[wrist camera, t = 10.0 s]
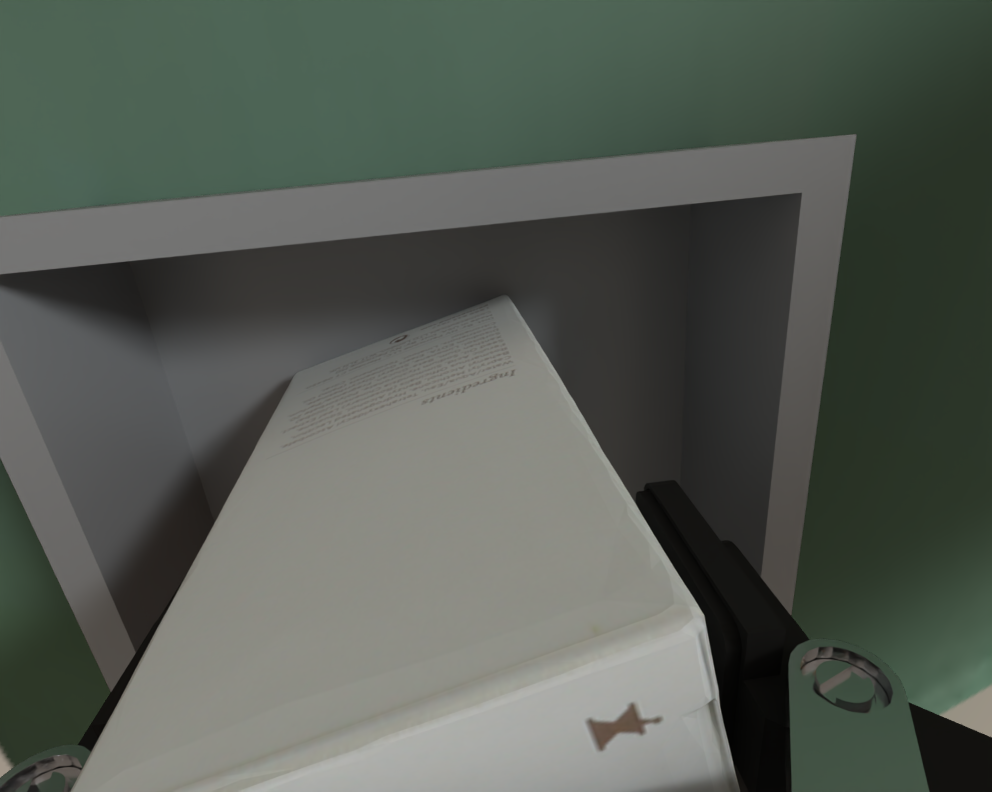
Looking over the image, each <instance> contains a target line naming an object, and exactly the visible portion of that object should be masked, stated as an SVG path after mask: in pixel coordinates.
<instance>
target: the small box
mask: <svg viewBox="0 0 992 792" xmlns="http://www.w3.org/2000/svg"><path fill="white" fill-rule="evenodd" d="M70 792H740V789H739V785H738V781H737V778H736V774H735V769H734V765H733V760H732V756H731V752H730V747H729V743H728V739H727V735H726V731H725V727H724V723H723V718H722V713H721V708H720V701H719V690H718V685H717V680H716V675H715V670H714V665H713V660H712V654H711V649H710V643H709V638H708V633H707V627H706V622H705V617H704V614H703V613H702V611H701V609H700V608H699V606H698V604H697V603H696V601H695V599H694V598H693V596H692V595H691V593H690V592H689V590H688V588H687V587H686V585H685V584H684V582H683V581H682V579H681V578H680V576H679V575H678V573H677V571H676V570H675V568H674V567H673V565H672V563H671V562H670V560H669V558H668V557H667V555H666V554H665V552H664V550H663V549H662V547H661V545H660V544H659V542H658V541H657V539H656V537H655V536H654V534H653V532H652V531H651V529H650V527H649V526H648V524H647V522H646V521H645V519H644V517H643V516H642V514H641V512H640V510H639V509H638V507H637V505H636V504H635V502H634V501H633V499H632V497H631V496H630V494H629V492H628V491H627V489H626V488H625V486H624V484H623V483H622V481H621V479H620V478H619V476H618V474H617V473H616V471H615V470H614V468H613V467H612V465H611V464H610V462H609V460H608V459H607V457H606V456H605V454H604V453H603V451H602V449H601V447H600V445H599V443H598V442H597V440H596V438H595V436H594V435H593V433H592V431H591V430H590V428H589V426H588V424H587V422H586V421H585V419H584V417H583V416H582V414H581V412H580V411H579V409H578V407H577V405H576V404H575V402H574V400H573V399H572V397H571V396H570V394H569V392H568V391H567V389H566V387H565V386H564V384H563V382H562V380H561V379H560V377H559V375H558V374H557V372H556V370H555V369H554V367H553V366H552V364H551V363H550V361H549V359H548V357H547V356H546V354H545V353H544V351H543V350H542V348H541V346H540V344H539V343H538V342H537V340H536V339H535V337H534V335H533V333H532V332H531V330H530V329H529V327H528V325H527V324H526V322H525V320H524V319H523V318H522V316H521V315H520V313H519V311H518V310H517V308H516V307H515V305H514V304H513V302H512V301H511V299H510V298H509V296H507V295H501V296H499V297H496V298H494V299H491V300H489V301H486V302H484V303H481V304H478V305H475V306H473V307H470V308H467V309H465V310H462V311H459V312H457V313H454V314H451V315H448V316H446V317H443V318H440V319H438V320H435V321H432V322H430V323H427V324H424V325H422V326H419V327H416V328H414V329H411V330H408V331H406V332H403V333H400V334H398V335H395V336H392V337H390V338H387V339H384V340H381V341H379V342H376V343H374V344H371V345H368V346H366V347H363V348H361V349H358V350H355V351H353V352H350V353H347V354H345V355H342V356H339V357H337V358H334V359H331V360H328V361H326V362H323V363H321V364H318V365H315V366H313V367H310V368H308V369H305V370H302V371H299V372H297V373H296V374H295V375H294V376H293V378H292V380H291V382H290V384H289V386H288V388H287V390H286V391H285V393H284V395H283V397H282V399H281V400H280V402H279V404H278V406H277V408H276V410H275V412H274V413H273V415H272V417H271V419H270V421H269V423H268V425H267V426H266V428H265V430H264V432H263V434H262V435H261V437H260V439H259V441H258V442H257V444H256V447H255V449H254V451H253V453H252V455H251V456H250V458H249V460H248V462H247V464H246V466H245V467H244V469H243V471H242V473H241V475H240V477H239V478H238V480H237V482H236V484H235V486H234V488H233V489H232V491H231V493H230V495H229V497H228V499H227V500H226V502H225V504H224V506H223V508H222V510H221V512H220V514H219V516H218V518H217V520H216V521H215V523H214V525H213V527H212V529H211V531H210V532H209V534H208V536H207V538H206V540H205V542H204V544H203V545H202V547H201V549H200V551H199V553H198V555H197V557H196V558H195V560H194V562H193V564H192V566H191V568H190V569H189V571H188V573H187V575H186V577H185V579H184V581H183V582H182V584H181V586H180V588H179V590H178V592H177V594H176V595H175V597H174V599H173V601H172V603H171V605H170V607H169V608H168V610H167V612H166V614H165V615H164V617H163V619H162V621H161V623H160V624H159V626H158V628H157V630H156V632H155V634H154V636H153V637H152V639H151V641H150V643H149V645H148V647H147V649H146V651H145V652H144V654H143V656H142V658H141V660H140V662H139V664H138V666H137V667H136V669H135V671H134V673H133V675H132V677H131V679H130V681H129V683H128V685H127V687H126V689H125V691H124V693H123V694H122V696H121V698H120V700H119V702H118V704H117V706H116V708H115V709H114V711H113V713H112V715H111V717H110V718H109V720H108V722H107V724H106V726H105V728H104V729H103V731H102V733H101V735H100V737H99V739H98V740H97V742H96V744H95V746H94V748H93V750H92V752H91V754H90V756H89V757H88V759H87V761H86V763H85V765H84V767H83V769H82V771H81V772H80V774H79V776H78V778H77V780H76V782H75V784H74V786H73V787H72V789H71V791H70Z"/></svg>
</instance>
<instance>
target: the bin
mask: <svg viewBox="0 0 992 792" xmlns="http://www.w3.org/2000/svg"><path fill="white" fill-rule="evenodd" d="M856 135H857V134H852V135H840V136H828V137H816V138H804V139H792V140H780V141H768V142H756V143H744V144H732V145H720V146H709V147H698V148H688V149H678V150H667V151H657V152H647V153H636V154H626V155H616V156H605V157H595V158H585V159H575V160H564V161H554V162H544V163H533V164H523V165H513V166H502V167H492V168H482V169H471V170H461V171H451V172H440V173H430V174H420V175H409V176H399V177H389V178H378V179H368V180H358V181H347V182H337V183H327V184H316V185H306V186H296V187H286V188H275V189H265V190H255V191H244V192H234V193H224V194H213V195H203V196H193V197H182V198H172V199H162V200H151V201H141V202H131V203H120V204H110V205H100V206H89V207H80V208H71V209H61V210H52V211H43V212H34V213H24V214H15V215H6V216H0V458H1V460H2V462H3V465H4V467H5V469H6V471H7V473H8V475H9V477H10V479H11V481H12V484H13V486H14V488H15V490H16V492H17V494H18V496H19V498H20V501H21V503H22V505H23V507H24V509H25V511H26V513H27V515H28V518H29V520H30V522H31V524H32V526H33V528H34V530H35V532H36V534H37V537H38V539H39V541H40V543H41V545H42V547H43V549H44V551H45V554H46V556H47V558H48V560H49V562H50V564H51V566H52V568H53V571H54V573H55V575H56V577H57V579H58V581H59V583H60V585H61V587H62V590H63V592H64V594H65V596H66V598H67V600H68V602H69V604H70V607H71V609H72V611H73V613H74V615H75V617H76V619H77V621H78V624H79V626H80V628H81V630H82V632H83V634H84V636H85V638H86V641H87V643H88V645H89V647H90V649H91V651H92V653H93V655H94V657H95V660H96V662H97V664H98V666H99V668H100V670H101V672H102V674H103V677H104V679H105V681H106V683H107V685H108V687H109V689H110V691H112V690H113V688H114V687H115V685H116V684H117V682H118V680H119V679H120V677H121V676H122V674H123V672H124V671H125V669H126V668H127V666H128V665H129V663H130V661H131V660H132V658H133V657H134V655H135V653H136V652H137V650H138V649H139V647H140V645H141V644H142V642H143V641H144V639H145V638H146V636H147V634H148V633H149V631H150V630H151V628H152V626H153V625H154V623H155V622H156V621H157V620H158V618H159V617H160V615H161V614H162V612H163V610H164V609H165V607H166V606H167V604H168V603H169V601H170V599H171V598H172V596H173V595H174V593H175V591H176V590H177V588H178V587H179V585H180V583H181V582H182V580H183V579H184V577H185V575H186V574H187V572H188V571H189V569H190V567H191V566H192V564H193V562H194V560H195V558H196V557H197V555H198V553H199V551H200V549H201V547H202V545H203V544H204V542H205V540H206V538H207V536H208V534H209V532H210V531H211V529H212V527H213V525H214V523H215V521H216V520H217V518H218V516H219V514H220V512H221V510H222V508H223V506H224V504H225V502H226V500H227V499H228V497H229V495H230V493H231V491H232V489H233V488H234V486H235V484H236V482H237V480H238V478H239V477H240V475H241V473H242V471H243V469H244V467H245V466H246V464H247V462H248V460H249V458H250V456H251V455H252V453H253V451H254V449H255V447H256V444H257V442H258V441H259V439H260V437H261V435H262V434H263V432H264V430H265V428H266V426H267V425H268V423H269V421H270V419H271V417H272V415H273V413H274V412H275V410H276V408H277V406H278V404H279V402H280V400H281V399H282V397H283V395H284V393H285V391H286V390H287V388H288V386H289V384H290V382H291V380H292V378H293V376H294V375H295V374H296V373H297V372H299V371H302V370H305V369H308V368H310V367H313V366H315V365H318V364H321V363H323V362H326V361H328V360H331V359H334V358H337V357H339V356H342V355H345V354H347V353H350V352H353V351H355V350H358V349H361V348H363V347H366V346H368V345H371V344H374V343H376V342H379V341H381V340H384V339H387V338H390V337H392V336H395V335H398V334H400V333H403V332H406V331H408V330H411V329H414V328H416V327H419V326H422V325H424V324H427V323H430V322H432V321H435V320H438V319H440V318H443V317H446V316H448V315H451V314H454V313H457V312H459V311H462V310H465V309H467V308H470V307H473V306H475V305H478V304H481V303H484V302H486V301H489V300H491V299H494V298H496V297H499V296H501V295H507V296H509V298H510V299H511V301H512V302H513V304H514V305H515V307H516V308H517V310H518V311H519V313H520V315H521V316H522V318H523V319H524V320H525V322H526V324H527V325H528V327H529V329H530V330H531V332H532V333H533V335H534V337H535V339H536V340H537V342H538V343H539V344H540V346H541V348H542V350H543V351H544V353H545V354H546V356H547V357H548V359H549V361H550V363H551V364H552V366H553V367H554V369H555V370H556V372H557V374H558V375H559V377H560V379H561V380H562V382H563V384H564V386H565V387H566V389H567V391H568V392H569V394H570V396H571V397H572V399H573V400H574V402H575V404H576V405H577V407H578V409H579V411H580V412H581V414H582V416H583V417H584V419H585V421H586V422H587V424H588V426H589V428H590V430H591V431H592V433H593V435H594V436H595V438H596V440H597V442H598V443H599V445H600V447H601V449H602V451H603V453H604V454H605V456H606V457H607V459H608V460H609V462H610V464H611V465H612V467H613V468H614V470H615V471H616V473H617V474H618V476H619V478H620V479H621V481H622V483H623V484H624V486H625V488H626V489H627V491H628V492H629V494H630V496H631V497H632V499H633V501H634V502H635V499H636V493H637V492H638V491H644V486H645V484H646V483H651V482H659V481H667V480H675V481H676V482H677V483H678V484H679V486H680V487H681V488H682V490H683V491H684V492H685V494H686V495H687V496H688V498H689V499H690V500H691V502H692V503H693V504H694V506H695V507H696V508H697V510H698V511H699V512H700V514H701V515H702V516H703V518H704V519H705V520H706V522H707V523H708V524H709V526H710V527H711V528H712V530H713V531H714V532H715V534H716V535H717V536H718V538H719V539H720V540H721V541H723V540H729V541H732V542H733V543H734V544H735V545H736V546H737V547H738V548H739V550H740V551H741V552H742V554H743V555H744V556H745V557H746V559H747V560H748V561H749V563H750V564H751V565H752V566H753V568H754V569H755V570H756V572H757V573H758V574H759V575H760V577H761V578H762V579H763V581H764V582H765V583H766V584H767V586H768V587H769V588H770V590H771V591H772V592H773V593H774V595H775V596H776V597H777V599H778V600H779V601H780V602H781V604H782V605H783V606H784V608H785V609H786V610H787V611H788V613H789V614H790V615H791V614H792V606H793V599H794V592H795V584H796V577H797V570H798V562H799V555H800V548H801V540H802V533H803V525H804V518H805V511H806V503H807V496H808V489H809V481H810V474H811V467H812V459H813V452H814V444H815V437H816V430H817V422H818V415H819V408H820V400H821V393H822V385H823V378H824V371H825V363H826V356H827V349H828V341H829V334H830V327H831V319H832V312H833V304H834V297H835V290H836V282H837V275H838V268H839V260H840V253H841V246H842V238H843V231H844V223H845V216H846V209H847V201H848V194H849V187H850V179H851V172H852V165H853V157H854V150H855V142H856Z"/></svg>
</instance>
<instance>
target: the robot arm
mask: <svg viewBox="0 0 992 792" xmlns="http://www.w3.org/2000/svg"><path fill="white" fill-rule="evenodd" d="M635 504H636V505H637V507H638V509H639V510H640V512H641V514H642V516H643V517H644V519H645V521H646V522H647V524H648V526H649V527H650V529H651V531H652V532H653V534H654V536H655V537H656V539H657V541H658V542H659V544H660V545H661V547H662V549H663V550H664V552H665V554H666V555H667V557H668V558H669V560H670V562H671V563H672V565H673V567H674V568H675V570H676V571H677V573H678V575H679V576H680V578H681V579H682V581H683V582H684V584H685V585H686V587H687V588H688V590H689V592H690V593H691V595H692V596H693V598H694V599H695V601H696V603H697V604H698V606H699V608H700V609H701V611H702V613H703V614H704V617H705V622H706V627H707V633H708V638H709V643H710V649H711V654H712V660H713V665H714V670H715V675H716V680H717V685H718V690H719V701H720V708H721V713H722V718H723V723H724V727H725V731H726V735H727V739H728V743H729V747H730V752H731V756H732V760H733V765H734V769H735V774H736V778H737V781H738V785H739V789H740V792H992V738H991V737H989V736H987V735H984V734H982V733H979V732H977V731H975V730H972V729H970V728H968V727H965V726H963V725H961V724H958V723H956V722H954V721H951V720H949V719H947V718H944V717H942V716H939V715H937V714H935V713H932V712H930V711H928V710H925V709H923V708H921V707H918V706H916V705H913V704H911V703H909V702H908V699H907V695H906V691H905V689H904V687H903V685H902V683H901V680H900V678H899V677H898V676H897V675H896V674H895V673H894V671H893V670H892V669H891V668H890V667H889V666H888V665H887V664H886V663H884V662H883V661H882V660H881V659H879V658H878V657H877V656H875V655H874V654H872V653H870V652H868V651H866V650H864V649H862V648H860V647H859V646H856V645H853V644H850V643H847V642H843V641H840V640H832V639H815V640H809V638H808V637H807V636H806V634H805V633H804V632H803V631H802V629H801V628H800V627H799V625H798V624H797V623H796V622H795V620H794V619H793V618H792V617H791V615H790V614H789V613H788V611H787V610H786V609H785V608H784V606H783V605H782V604H781V602H780V601H779V600H778V599H777V597H776V596H775V595H774V593H773V592H772V591H771V590H770V588H769V587H768V586H767V584H766V583H765V582H764V581H763V579H762V578H761V577H760V575H759V574H758V573H757V572H756V570H755V569H754V568H753V566H752V565H751V564H750V563H749V561H748V560H747V559H746V557H745V556H744V555H743V554H742V552H741V551H740V550H739V548H738V547H737V546H736V545H735V544H734V543H733V542H732V541H729V540H723V541H721V540H720V539H719V538H718V536H717V535H716V534H715V532H714V531H713V530H712V528H711V527H710V526H709V524H708V523H707V522H706V520H705V519H704V518H703V516H702V515H701V514H700V512H699V511H698V510H697V508H696V507H695V506H694V504H693V503H692V502H691V500H690V499H689V498H688V496H687V495H686V494H685V492H684V491H683V490H682V488H681V487H680V486H679V484H678V483H677V482H676V481H675V480H667V481H659V482H651V483H646V484H645V486H644V491H638V492H637V493H636V499H635ZM190 568H191V567H190ZM187 573H188V572H187ZM186 575H187V574H186ZM186 575H185V577H186ZM185 577H184V579H185ZM184 579H183V580H182V582H183V581H184ZM182 582H181V583H180V585H179V587H178V588H177V590H176V591H175V593H174V595H173V596H172V598H171V599H170V601H169V603H168V604H167V606H166V607H165V609H164V610H163V612H162V614H161V615H160V617H159V618H158V620H157V621H156V622H155V623H154V625H153V626H152V628H151V630H150V631H149V633H148V634H147V636H146V638H145V639H144V641H143V642H142V644H141V645H140V647H139V649H138V650H137V652H136V653H135V655H134V657H133V658H132V660H131V661H130V663H129V665H128V666H127V668H126V669H125V671H124V672H123V674H122V676H121V677H120V679H119V680H118V682H117V684H116V685H115V687H114V688H113V690H112V691H111V693H110V695H109V696H108V698H107V699H106V701H105V703H104V704H103V706H102V707H101V709H100V711H99V712H98V714H97V715H96V717H95V718H94V720H93V722H92V723H91V725H90V726H89V728H88V730H87V731H86V733H85V734H84V736H83V738H82V739H81V741H80V742H79V744H78V745H72V744H70V745H64V746H58V747H53V748H51V749H48V750H45V751H43V752H40V753H38V754H35V755H34V756H32V757H30V758H28V759H27V760H25V761H23V762H21V763H20V764H18V765H16V766H15V767H14V768H12V769H11V770H10V771H8V772H7V773H6V774H4V775H3V776H2V777H1V778H0V792H70V791H71V789H72V787H73V786H74V784H75V782H76V780H77V778H78V776H79V774H80V772H81V771H82V769H83V767H84V765H85V763H86V761H87V759H88V757H89V756H90V754H91V752H92V750H93V748H94V746H95V744H96V742H97V740H98V739H99V737H100V735H101V733H102V731H103V729H104V728H105V726H106V724H107V722H108V720H109V718H110V717H111V715H112V713H113V711H114V709H115V708H116V706H117V704H118V702H119V700H120V698H121V696H122V694H123V693H124V691H125V689H126V687H127V685H128V683H129V681H130V679H131V677H132V675H133V673H134V671H135V669H136V667H137V666H138V664H139V662H140V660H141V658H142V656H143V654H144V652H145V651H146V649H147V647H148V645H149V643H150V641H151V639H152V637H153V636H154V634H155V632H156V630H157V628H158V626H159V624H160V623H161V621H162V619H163V617H164V615H165V614H166V612H167V610H168V608H169V607H170V605H171V603H172V601H173V599H174V597H175V595H176V594H177V592H178V590H179V588H180V586H181V584H182Z"/></svg>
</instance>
